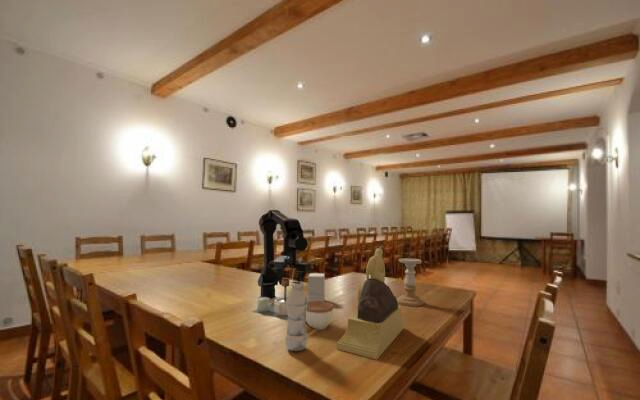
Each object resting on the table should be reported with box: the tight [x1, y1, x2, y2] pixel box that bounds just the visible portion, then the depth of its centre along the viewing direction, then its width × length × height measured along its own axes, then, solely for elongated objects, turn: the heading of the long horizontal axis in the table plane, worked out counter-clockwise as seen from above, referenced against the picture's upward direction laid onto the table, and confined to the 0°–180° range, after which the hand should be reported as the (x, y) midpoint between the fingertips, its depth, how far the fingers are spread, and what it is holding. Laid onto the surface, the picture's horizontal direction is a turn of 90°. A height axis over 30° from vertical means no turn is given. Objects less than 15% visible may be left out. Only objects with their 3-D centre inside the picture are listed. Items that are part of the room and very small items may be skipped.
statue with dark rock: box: [336, 247, 404, 360], centre depth 103 cm, size 28×13×30 cm, turn 150°
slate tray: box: [251, 302, 288, 321], centre depth 127 cm, size 22×16×1 cm
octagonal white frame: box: [273, 296, 288, 316], centre depth 125 cm, size 8×10×5 cm
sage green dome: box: [256, 296, 271, 314], centre depth 127 cm, size 5×5×5 cm
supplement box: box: [307, 272, 326, 302], centre depth 144 cm, size 7×7×13 cm
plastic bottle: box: [284, 280, 308, 352], centre depth 93 cm, size 6×7×20 cm
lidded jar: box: [306, 300, 334, 331], centre depth 112 cm, size 11×11×9 cm
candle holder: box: [396, 257, 425, 307], centre depth 144 cm, size 12×12×20 cm
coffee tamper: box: [278, 277, 290, 302], centre depth 126 cm, size 6×6×9 cm
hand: (289, 286), depth 128 cm, fingers open, 9 cm apart
